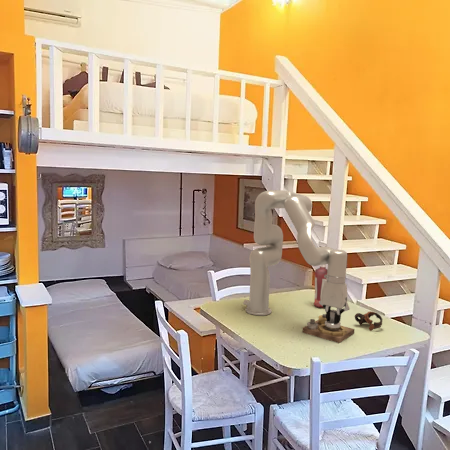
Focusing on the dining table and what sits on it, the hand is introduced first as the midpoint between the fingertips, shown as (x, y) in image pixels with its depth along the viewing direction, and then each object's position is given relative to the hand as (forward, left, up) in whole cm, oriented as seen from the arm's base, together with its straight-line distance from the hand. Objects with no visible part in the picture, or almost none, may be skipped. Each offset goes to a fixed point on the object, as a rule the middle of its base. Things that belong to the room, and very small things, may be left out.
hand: (332, 321), depth 185 cm
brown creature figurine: (+7, +22, -6) cm, 24 cm away
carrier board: (-2, +1, -6) cm, 7 cm away
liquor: (-22, +34, -6) cm, 41 cm away
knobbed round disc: (0, 0, -3) cm, 3 cm away
